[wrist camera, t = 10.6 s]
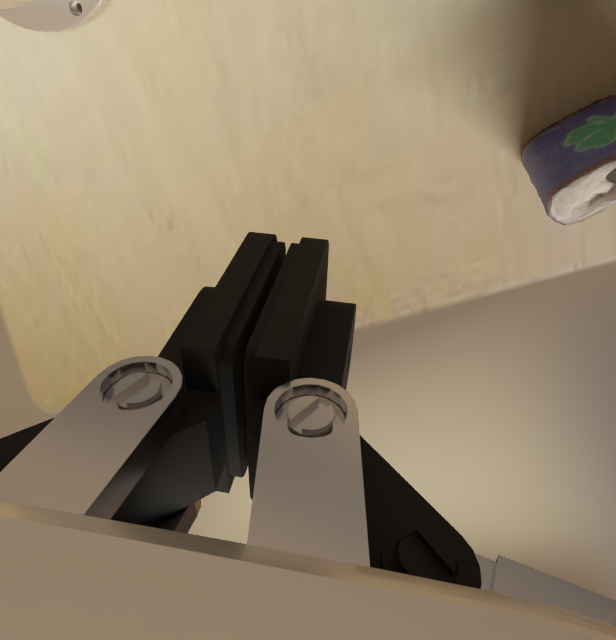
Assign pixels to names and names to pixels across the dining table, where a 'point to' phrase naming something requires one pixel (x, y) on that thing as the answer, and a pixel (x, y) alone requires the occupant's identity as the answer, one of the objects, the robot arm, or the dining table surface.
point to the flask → (576, 163)
